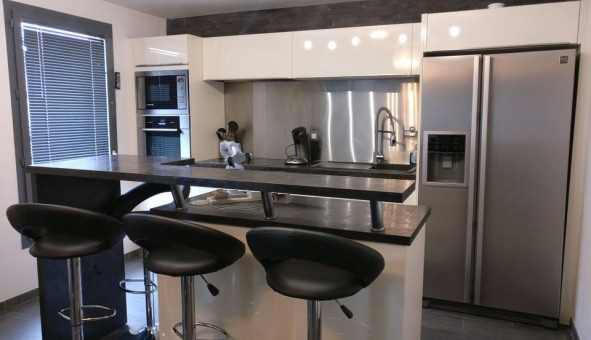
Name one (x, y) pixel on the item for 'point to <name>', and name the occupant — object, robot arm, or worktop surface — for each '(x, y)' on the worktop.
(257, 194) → the gauge cabinet
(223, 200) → the rail board
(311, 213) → the worktop surface
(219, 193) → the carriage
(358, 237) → the worktop surface
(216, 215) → the worktop surface
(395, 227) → the worktop surface
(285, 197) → the coffee box
